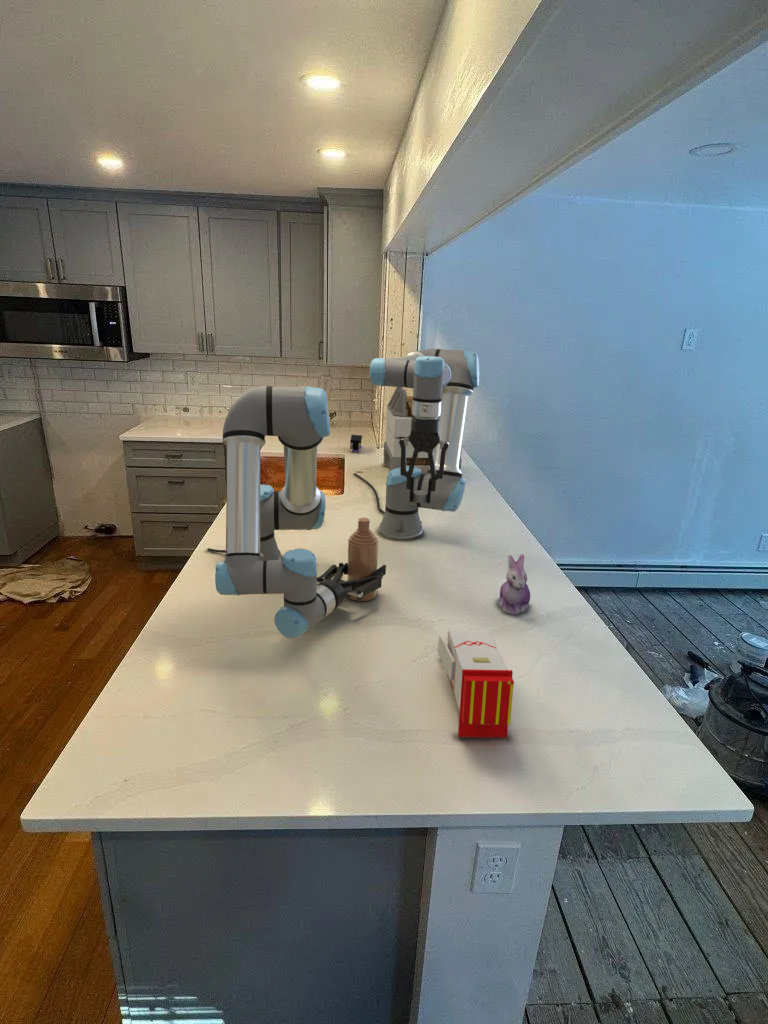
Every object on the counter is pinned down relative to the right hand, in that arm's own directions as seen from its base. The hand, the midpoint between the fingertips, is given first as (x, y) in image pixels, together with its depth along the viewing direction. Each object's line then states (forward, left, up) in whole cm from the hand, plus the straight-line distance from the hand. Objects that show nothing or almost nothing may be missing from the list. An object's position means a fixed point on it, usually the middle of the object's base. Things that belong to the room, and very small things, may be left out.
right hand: (420, 500), depth 157 cm
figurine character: (-135, +83, -25) cm, 161 cm away
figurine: (+27, +11, -25) cm, 38 cm away
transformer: (-83, +82, -25) cm, 119 cm away
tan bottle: (-3, -17, -25) cm, 31 cm away
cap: (0, 0, +2) cm, 2 cm away
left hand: (-5, -13, -18) cm, 23 cm away
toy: (+44, -26, -25) cm, 57 cm away
